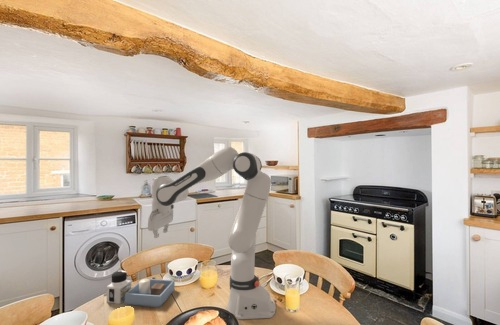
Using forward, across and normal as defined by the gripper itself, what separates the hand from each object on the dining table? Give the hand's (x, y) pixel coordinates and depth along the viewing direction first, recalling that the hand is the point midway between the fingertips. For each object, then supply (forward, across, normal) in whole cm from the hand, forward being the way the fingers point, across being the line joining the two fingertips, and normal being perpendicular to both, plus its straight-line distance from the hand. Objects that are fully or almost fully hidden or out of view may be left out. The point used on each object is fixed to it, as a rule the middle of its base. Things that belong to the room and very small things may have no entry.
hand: (161, 234), depth 124 cm
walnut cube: (+30, -3, 0) cm, 30 cm away
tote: (+30, -3, +4) cm, 30 cm away
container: (+30, -7, +18) cm, 36 cm away
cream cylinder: (+29, -3, +7) cm, 30 cm away
